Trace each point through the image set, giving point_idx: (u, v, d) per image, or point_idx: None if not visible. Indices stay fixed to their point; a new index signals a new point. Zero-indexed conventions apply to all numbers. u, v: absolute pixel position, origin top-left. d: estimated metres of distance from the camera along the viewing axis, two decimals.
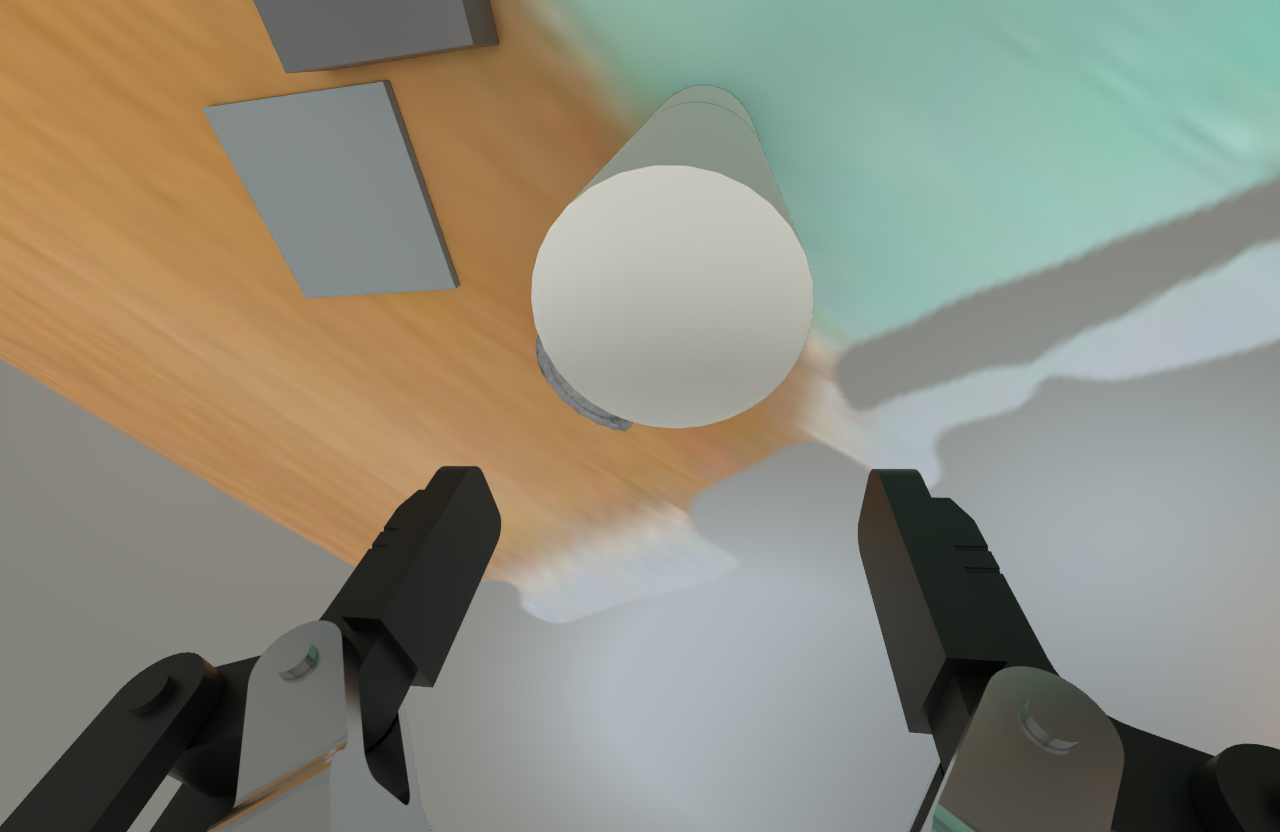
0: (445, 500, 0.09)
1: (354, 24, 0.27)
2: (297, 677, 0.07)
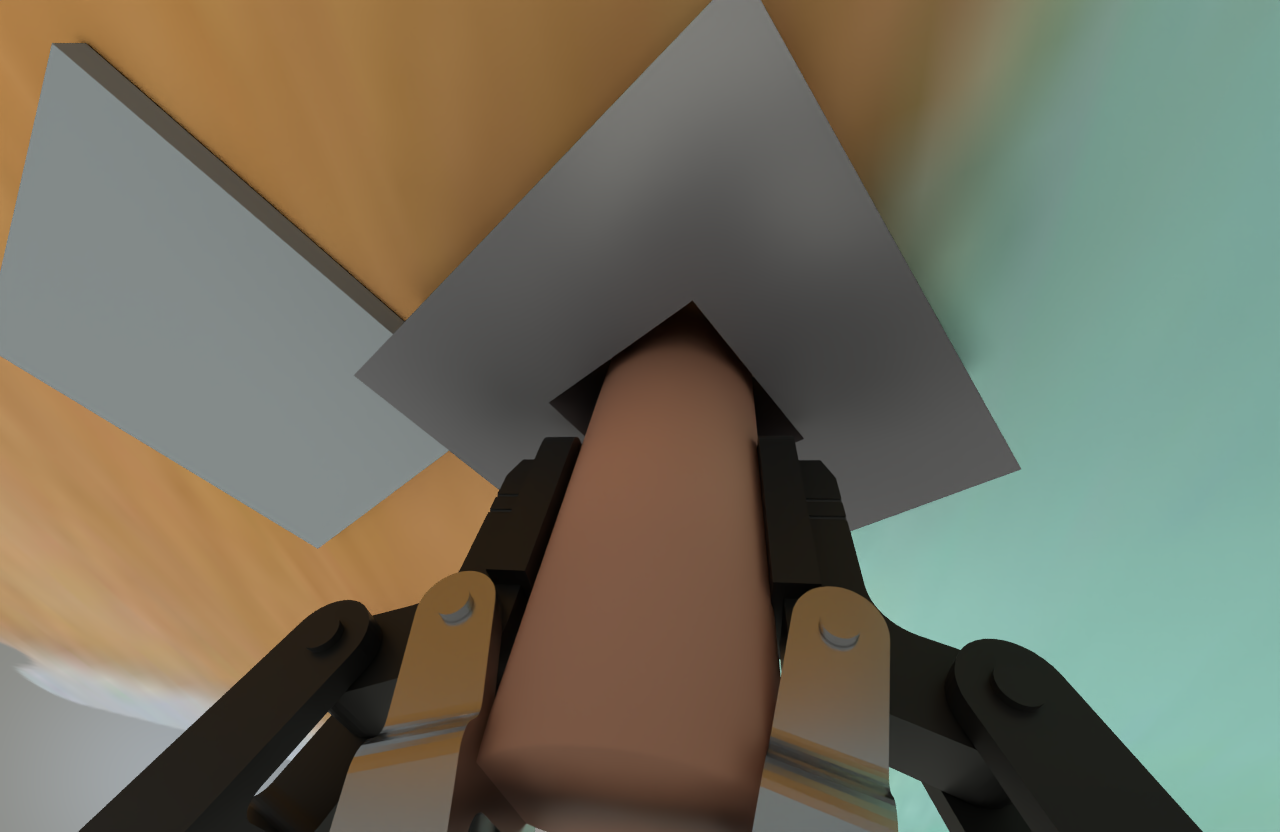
0: (558, 466, 0.10)
1: None
2: (462, 620, 0.07)
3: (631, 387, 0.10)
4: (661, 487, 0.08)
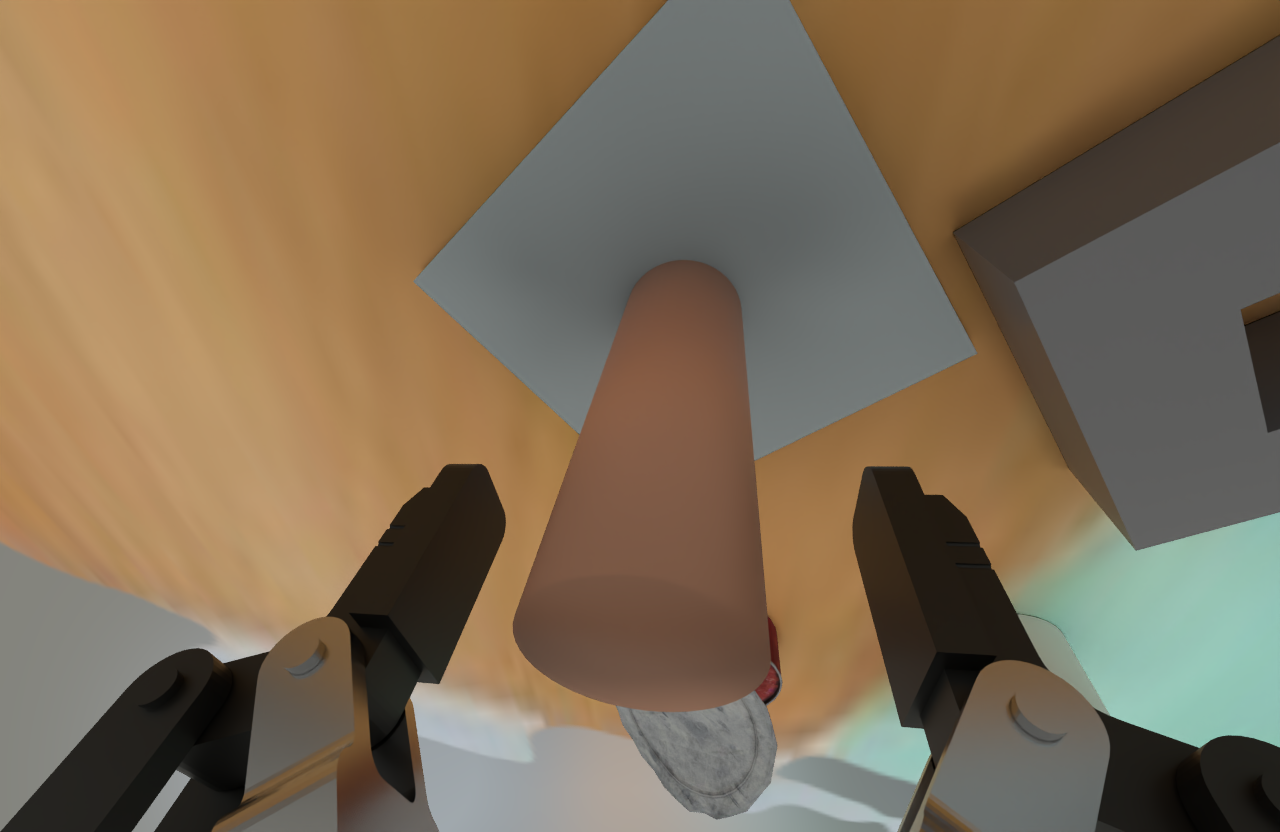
0: (451, 497, 0.09)
1: (1149, 398, 0.13)
2: (306, 672, 0.07)
3: (637, 342, 0.12)
4: (664, 412, 0.09)
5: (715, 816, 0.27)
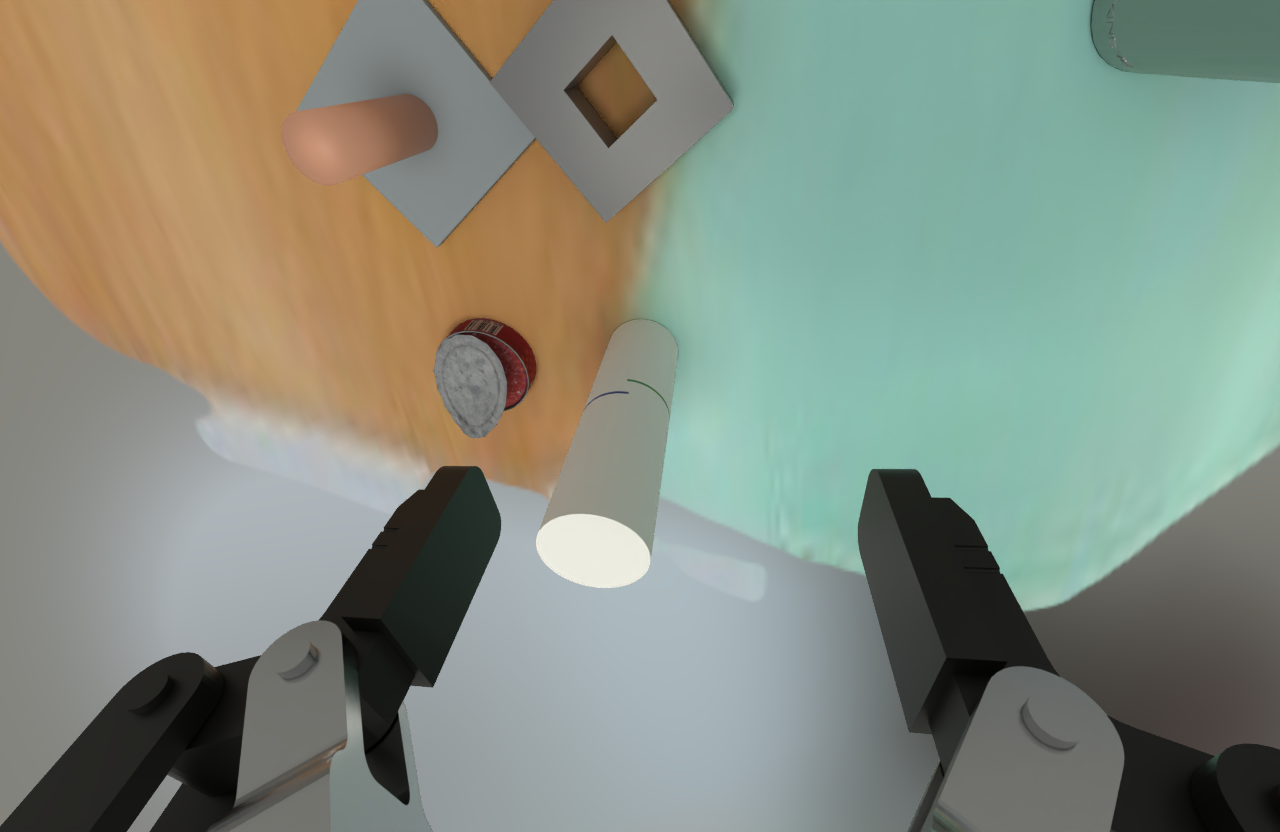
0: (445, 500, 0.09)
1: (560, 134, 0.35)
2: (297, 677, 0.07)
3: None
4: (340, 104, 0.31)
5: (484, 436, 0.49)
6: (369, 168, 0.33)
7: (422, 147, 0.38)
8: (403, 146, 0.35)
